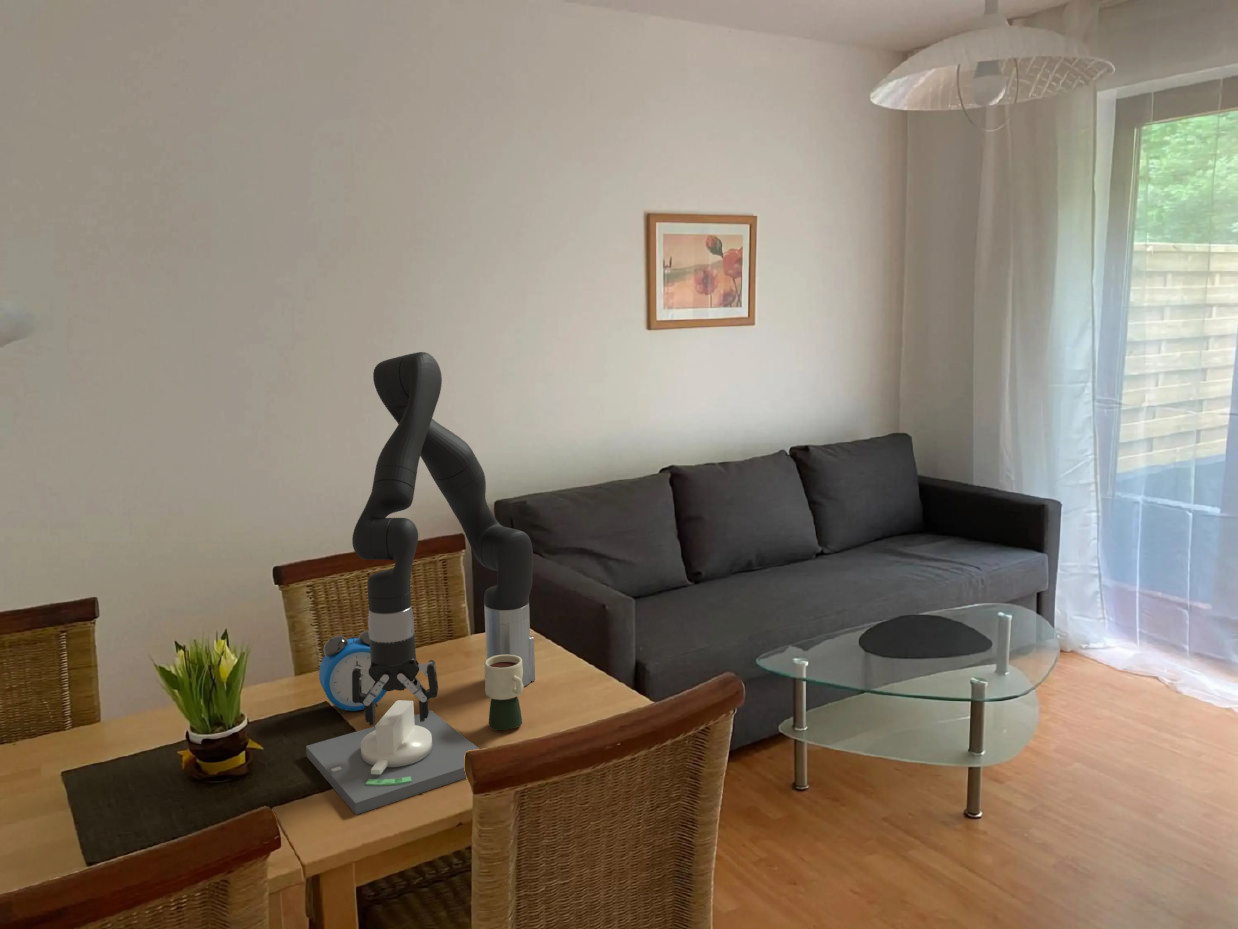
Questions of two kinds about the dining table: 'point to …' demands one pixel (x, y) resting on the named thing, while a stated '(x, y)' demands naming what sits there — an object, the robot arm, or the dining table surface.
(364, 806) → the dial board
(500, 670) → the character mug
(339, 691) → the alarm clock
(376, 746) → the dial
